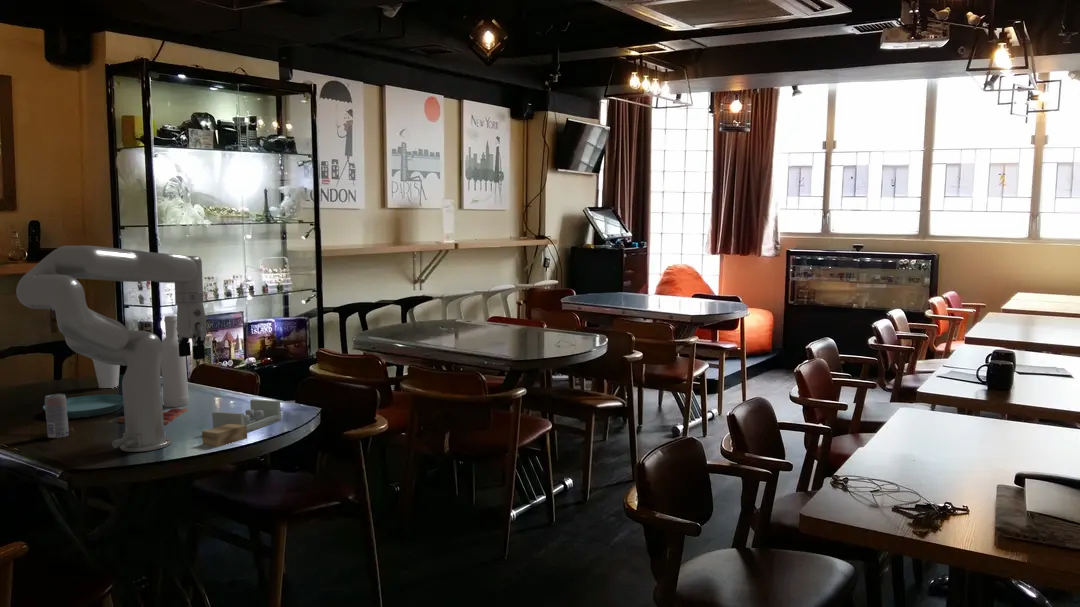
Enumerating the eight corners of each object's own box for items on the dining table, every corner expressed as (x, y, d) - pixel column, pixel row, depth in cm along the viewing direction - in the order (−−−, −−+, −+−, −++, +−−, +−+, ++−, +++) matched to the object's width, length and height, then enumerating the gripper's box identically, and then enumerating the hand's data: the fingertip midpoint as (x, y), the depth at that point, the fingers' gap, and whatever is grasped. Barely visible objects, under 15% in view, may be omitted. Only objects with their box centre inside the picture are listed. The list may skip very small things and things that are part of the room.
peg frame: (242, 435, 242) (240, 414, 241) (213, 432, 245) (212, 412, 245) (281, 420, 259) (280, 400, 258) (253, 418, 262) (252, 399, 262)
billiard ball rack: (115, 417, 261) (164, 403, 280) (116, 424, 261) (165, 410, 280) (163, 421, 255) (210, 407, 274) (163, 428, 255) (210, 413, 274)
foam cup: (99, 385, 323) (96, 351, 321) (125, 384, 324) (123, 350, 323) (91, 390, 313) (88, 355, 312) (118, 389, 315) (115, 354, 314)
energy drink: (64, 433, 249) (61, 392, 248) (72, 435, 246) (68, 394, 244) (44, 437, 245) (41, 396, 244) (52, 439, 242) (48, 398, 240)
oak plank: (217, 448, 230) (216, 433, 229) (202, 445, 233) (201, 431, 232) (247, 439, 238) (246, 425, 238) (232, 437, 241) (231, 423, 241)
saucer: (37, 424, 263) (36, 413, 262) (50, 408, 285) (49, 399, 285) (124, 415, 272) (123, 405, 271) (129, 401, 294) (129, 391, 294)
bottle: (190, 401, 289) (185, 313, 286) (187, 406, 282) (181, 316, 279) (165, 403, 287) (159, 315, 284) (161, 408, 280) (155, 317, 277)
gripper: (215, 299, 243) (217, 358, 244) (189, 296, 255) (192, 353, 256) (189, 300, 237) (191, 361, 239) (164, 298, 249) (166, 356, 251)
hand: (191, 357), depth 247 cm, fingers open, 9 cm apart
